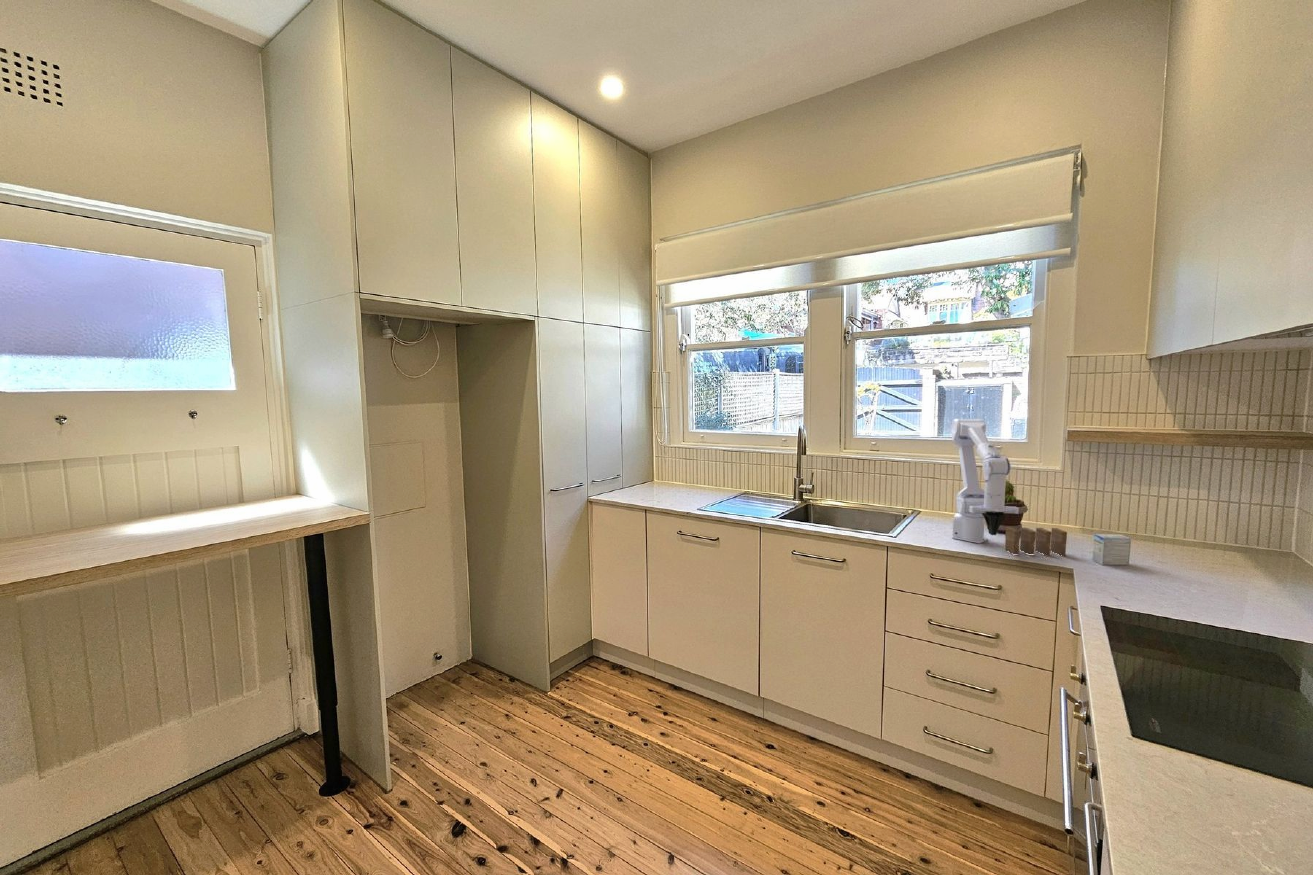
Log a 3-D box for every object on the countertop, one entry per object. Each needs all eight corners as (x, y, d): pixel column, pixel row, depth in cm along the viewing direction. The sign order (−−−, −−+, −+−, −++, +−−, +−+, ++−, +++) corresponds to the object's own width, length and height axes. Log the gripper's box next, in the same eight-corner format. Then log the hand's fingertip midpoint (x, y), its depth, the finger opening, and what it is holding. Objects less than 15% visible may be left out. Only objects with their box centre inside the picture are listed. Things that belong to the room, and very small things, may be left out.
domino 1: (1013, 555, 174) (1014, 531, 174) (1004, 550, 179) (1006, 527, 179) (1018, 555, 174) (1019, 531, 174) (1009, 550, 179) (1011, 527, 179)
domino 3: (1044, 555, 174) (1045, 531, 173) (1034, 551, 179) (1036, 527, 178) (1049, 555, 174) (1051, 531, 173) (1040, 551, 178) (1041, 527, 178)
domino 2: (1028, 555, 174) (1030, 531, 173) (1019, 550, 179) (1021, 527, 178) (1034, 555, 174) (1035, 531, 173) (1024, 550, 179) (1026, 527, 178)
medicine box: (1118, 561, 168) (1120, 534, 167) (1129, 565, 163) (1131, 538, 163) (1091, 560, 169) (1093, 533, 168) (1101, 565, 164) (1103, 537, 163)
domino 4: (1060, 555, 173) (1061, 531, 173) (1050, 551, 178) (1051, 527, 177) (1065, 556, 173) (1066, 532, 172) (1055, 551, 178) (1056, 527, 177)
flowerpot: (1019, 538, 194) (1023, 483, 192) (973, 529, 205) (975, 478, 203) (1031, 530, 203) (1034, 478, 201) (986, 523, 215) (989, 474, 213)
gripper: (977, 496, 172) (975, 537, 174) (1025, 496, 171) (1022, 537, 172) (967, 491, 179) (965, 531, 180) (1012, 492, 178) (1010, 532, 179)
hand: (992, 534), depth 177 cm, fingers closed
